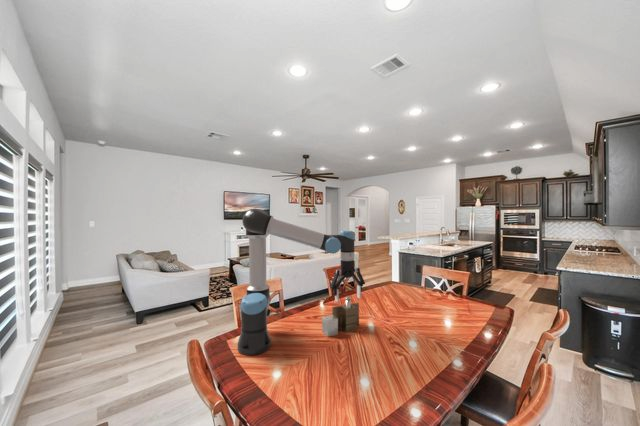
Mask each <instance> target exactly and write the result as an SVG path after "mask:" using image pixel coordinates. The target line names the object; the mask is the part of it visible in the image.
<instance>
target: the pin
mask: <svg viewBox="0 0 640 426" xmlns="http://www.w3.org/2000/svg"><path fill="white" fill-rule="evenodd" d="M344 300H345V305H346V308H351V304H352V303H351V300H352V297H351V296H345V297H344Z"/></svg>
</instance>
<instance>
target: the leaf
mask: <svg viewBox="0 0 640 426" xmlns="http://www.w3.org/2000/svg"><path fill="white" fill-rule="evenodd" d="M331 311H332V312H331V314H329V315H328V314H327V315H324V316H321V324H322V326H321V329H322V330H321V331H322V333H323V334H324V335H325V336H326V337H328V338H329V337H331V336H336V335H337V336H338V335H339V330H342V329H341V321H342V322H343V323H345V324H346V325H348V324H352V323H356V315H351V316H345V315H343V314H342V313H341V305H335V306H332V307H331Z"/></svg>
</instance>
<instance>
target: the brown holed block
mask: <svg viewBox="0 0 640 426" xmlns="http://www.w3.org/2000/svg"><path fill="white" fill-rule="evenodd" d="M359 304H360V303H359V302H353V303H351V308H346V304H343V305H342V304H341V305H340V306H341V313H342V314H343V315H345V316H351V315H356V323H352V324H348V325H346V324H345V323H343V322H342V321H341V329H340V330H343V332H345V333H349V332H354V331H357V326H360V305H359Z"/></svg>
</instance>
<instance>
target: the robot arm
mask: <svg viewBox="0 0 640 426" xmlns="http://www.w3.org/2000/svg"><path fill="white" fill-rule="evenodd" d="M242 225H243V227H244V228H245V236H246V237H247V238H248V255H249V256H248V257H249V258H248V259H249V260H248V262H249V264H248V265H249V273H248V274H249V285H248V286H247V287H246V295H245V296H243V297H242V299H241V302H240V319H241V321H240V323H241V325H240V328H241V331H240V332H241V333H240V336H239V339H238V341H237V351H238V353H240V354H242V355H245V356H254V355H260V354H263V353H265V352H266V351H268V350H270V348H271V346H272V340H271V339H272V338H271V337H270V334H269V330H268V310H269V306H270V305H271V302H272V301H271V294H270V285H269V284H267V238H268V236H269V235H272V236H275V237H279V238H282V239H285V240H288V241H292V242H295V243H297V244H301V245H306V246H308V247H311V248H315V249H319V250H321V251H325V252H328V253H329V254H338V252H339V251H340V269H335V272H334V275H333V278H332V279H331V280H332V281H331V283H330V285H329V288H331V289H332V290H333V296H334V301H335V302H337V303H339V299H340V298H339V296H340V295H339V294H340V293H339V286H340V285H341V284H342V282H343V281H344V279H347V278H352V279H353V280H354V281H355V283H356V284H357V285H356V298H358V299H362V298H361V297H362V292H363V290H362V289H363V288H362V287H363V286H364V285H365V284H366V282H365V280H364V277H363V275H362V273H361V269H360V267H355V266H356V265H355V264H356V263H355V240H356V239H355V232H354V231H353V230H341V231H340V233H339V234H324V233H321V232H318V231H315V230H312V229H308V228H306V227H302V226H298V225H296V224H292V223H289V222H285V221H282V220H280V219H276V218H274V216H273V215H271V214H268V213H267V211H266V210H264V209H262V208H250V209H249V210H247V211H246V212H245V213H244V214H243V216H242ZM355 273H356V274H355ZM356 275H357V276H356Z"/></svg>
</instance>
